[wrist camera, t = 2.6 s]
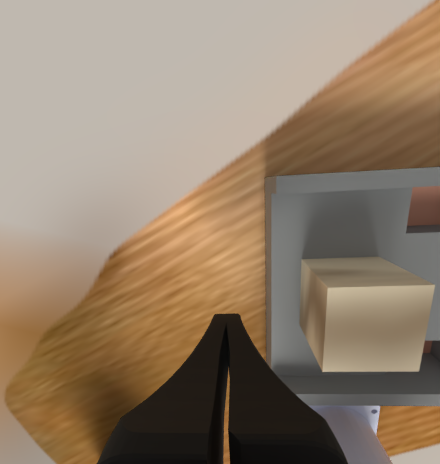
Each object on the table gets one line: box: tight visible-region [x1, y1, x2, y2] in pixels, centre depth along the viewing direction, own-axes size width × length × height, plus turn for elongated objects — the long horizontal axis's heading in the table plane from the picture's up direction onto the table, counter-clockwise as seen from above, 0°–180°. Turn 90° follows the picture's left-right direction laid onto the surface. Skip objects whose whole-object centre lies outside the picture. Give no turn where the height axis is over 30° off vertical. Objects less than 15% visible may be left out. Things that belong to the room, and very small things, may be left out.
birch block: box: [299, 257, 435, 372], centre depth 13 cm, size 5×5×4 cm
